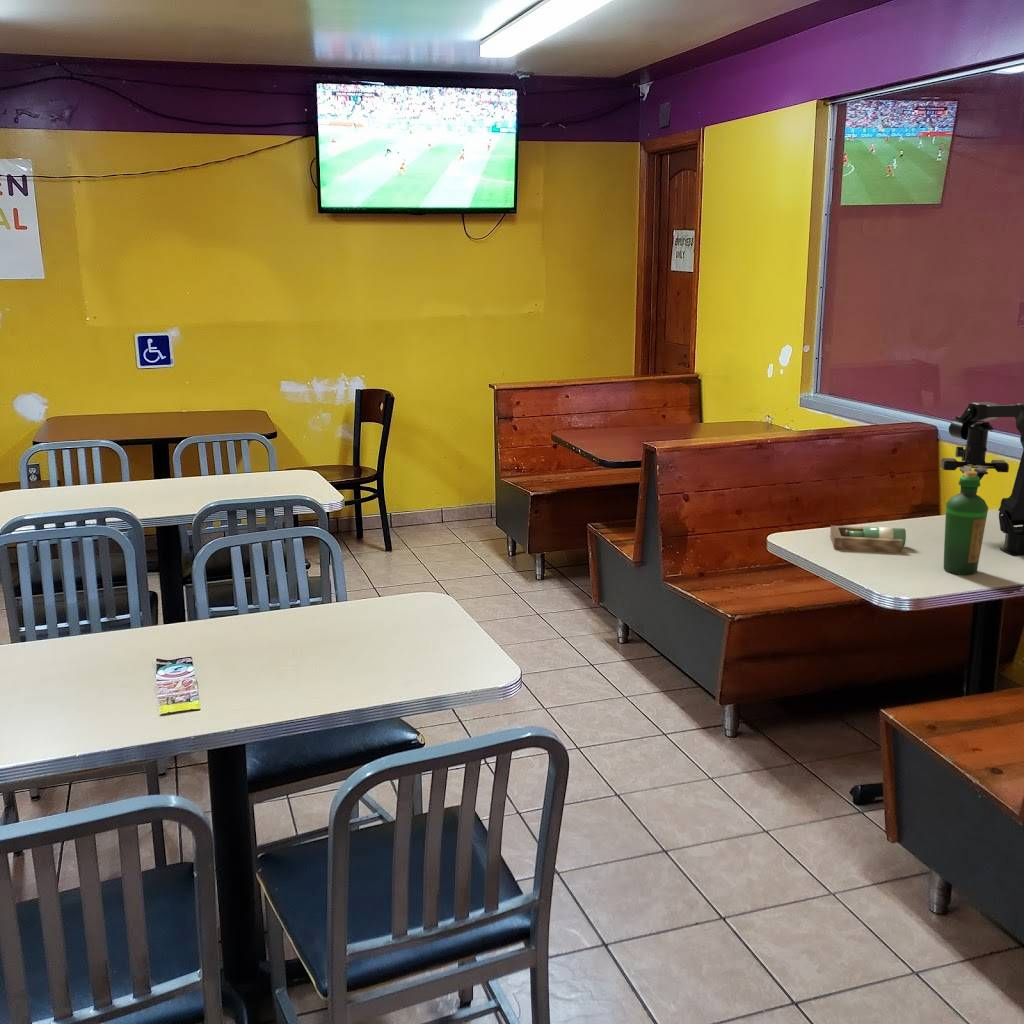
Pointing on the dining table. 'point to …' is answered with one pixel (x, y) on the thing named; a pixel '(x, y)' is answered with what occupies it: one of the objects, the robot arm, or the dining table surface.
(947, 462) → the robot arm
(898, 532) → the bottle
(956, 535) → the bottle
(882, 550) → the cradle
